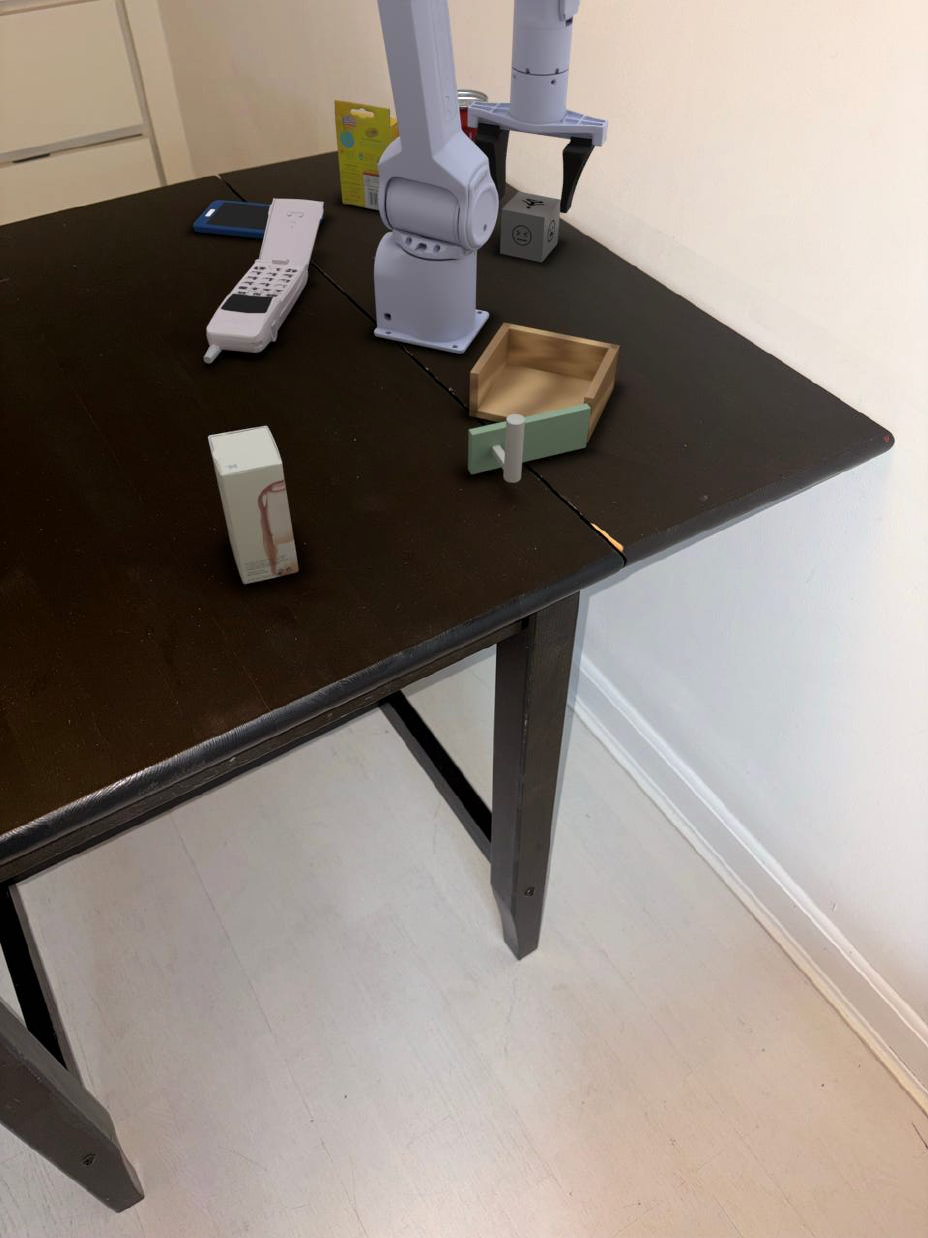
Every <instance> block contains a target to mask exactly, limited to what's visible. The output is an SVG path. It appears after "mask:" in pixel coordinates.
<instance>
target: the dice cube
mask: <svg viewBox="0 0 928 1238" xmlns="http://www.w3.org/2000/svg"><path fill="white" fill-rule="evenodd" d="M560 201H561V198H556V197H555V198H554V197H550V196H545V195H539V194H533V193H530V192H529V193H528V192H523V191H518V192H516V193H515V195H514V196H513V197H512V198H511V199H510V200H509V201H508V202H507V203H506V204H505V205H504V206H503V207H501V217H500V241H499V242H500V244H499V245H500V246H499V254H501V255H505V256H509V257H515V258H519V259H523V260H528V261H534V262H537V263H543V262H544V260H545V259H546V258H547V257H548V256H549V255H550V253H551V252H552V251H553V250H554V248H556V246H557V245H558V243H559V229H560V217H561V213H560Z"/></svg>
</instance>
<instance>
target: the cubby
mask: <svg viewBox="0 0 928 1238" xmlns="http://www.w3.org/2000/svg"><path fill="white" fill-rule="evenodd" d="M620 348H621V347H620V345H619V344H614V343H608V342H603V341H599V340H592V339H588V338H583V337H579V336H573V335H568V334H563V333H559V332H553V331H549V330H543V329H539V328H533V327H529V326H523V325H518V324H513V323H508V322H503V323H502V325H500V327H499V329H498V330H497V331H496V333H495V335H494V336H493V337H492V339H491V341H490V342H489V343H488V345H487V347H486V348H485V349H484V350H483V353H482V354H481V355H480V357H479V358H478V360H477V361H476V363H475V364H474V366H473V367H472V368H471V370H470V372H469V416H470V417H474V418H478V419H482V420H487V421H491V422H496V423H500V422H505V421H506V419H507V417H508V416H509V415H511V414H519V415H522V416H523V417H527V416H532V415H536V414H541V413H545V412H550V411H554V410H559V409H563V408H568V407H572V406H577V405H581V404H586V403H587V404H588V406H589V407H590V408H591V410H590V418H589V426H588V434H587V442H586V443H589V441H590V439H591V438H592V437H591V436H592V435H593V432H594V431H595V429H596V426H597V424H598V422H599V420H600V418H601V416H602V414H603V412H604V410H605V408H606V405H607V403H608V401H609V399H610V398H611V395H612V393H613V391H614V389H615V382H616V376H617V368H618V361H619V354H620Z"/></svg>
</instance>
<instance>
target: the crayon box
mask: <svg viewBox="0 0 928 1238" xmlns="http://www.w3.org/2000/svg"><path fill="white" fill-rule="evenodd" d="M333 103H334V122H335V125H334V126H335V133H336V147H337V156H338V157H337V158H338V169H339V180H340V189H341V190H340V191H341V201H342V202H341V203H342V205H351V206H355V207H361V208H366V209H371V210H376V211H379V207H378V192H379V171H378V166H377V165H378V163H379V161H380V158H381V156H382V154H383V153H384V151H385V150H386V148H387V147H388V146H389V145H390V144H391V143H392V142H393V141H394V140H395V139H397V138H398V137H399V136H400V135H399V129H398V123H397V117H395V118H394V117H391V108H389V107H383V106H378V105H371V104H365V103H358V102H352V101H345V100H339V99H334V101H333ZM362 109H364V111H365V112H369V113H365V112H364V113H363V112H358V111H359V110H362ZM352 110H357V111H352ZM370 113H373V114H370Z"/></svg>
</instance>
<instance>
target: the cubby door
mask: <svg viewBox="0 0 928 1238" xmlns="http://www.w3.org/2000/svg"><path fill="white" fill-rule="evenodd" d="M590 410H591V408H590V407H589V406H588V404H587V403H586V404H581V405H577V406H572V407H568V408H563V409H559V410H554V411H550V412H545V413H541V414H536V415H532V416H527V417H523V416H522V415H519V414H511V415H509V416H508V417H507V419H506V421H505V422H496V423H492V424H487V425H483V426H479V427H473V428H469V429H468V437H467V438H468V439H467V441H468V446H467V470H468V471H469V473H470V475H475V474H479V473H483V472H487V471H488V472H489V471H492V470H496V469H499V468H501V469H502V471H503V476H502V477H503V480H504V481H505V482H507V483H510V484H511V483H512V484H514V483H518V482H520V481H521V479H522V469H523V463H527V462H529V461H535V460H539V459H543V458H547V457H551V456H556V455H559V454H564V453H568V452H572V451H577V450H581V449H586V447H587V443H588V442H587V434H588V426H589V418H590Z"/></svg>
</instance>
